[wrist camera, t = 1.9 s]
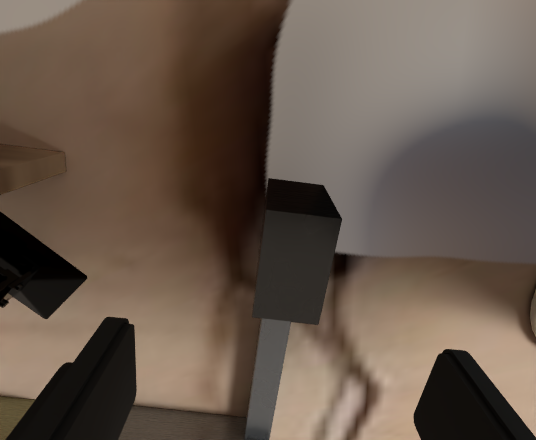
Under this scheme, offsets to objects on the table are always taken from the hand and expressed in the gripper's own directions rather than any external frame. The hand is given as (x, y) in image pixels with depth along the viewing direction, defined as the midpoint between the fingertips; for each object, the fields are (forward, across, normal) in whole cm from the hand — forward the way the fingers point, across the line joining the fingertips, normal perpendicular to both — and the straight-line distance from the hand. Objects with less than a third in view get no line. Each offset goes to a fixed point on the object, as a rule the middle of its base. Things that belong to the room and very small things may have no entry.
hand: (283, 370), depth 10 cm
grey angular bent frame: (+12, +5, +8) cm, 16 cm away
